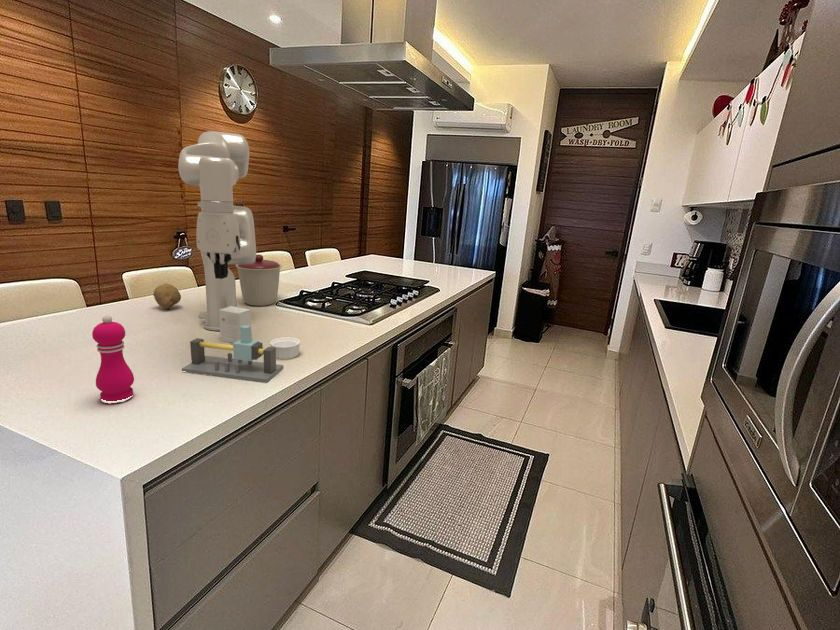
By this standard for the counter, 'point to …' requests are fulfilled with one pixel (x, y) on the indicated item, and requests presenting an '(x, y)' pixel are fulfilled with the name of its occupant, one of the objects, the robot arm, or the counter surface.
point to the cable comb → (233, 362)
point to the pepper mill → (112, 361)
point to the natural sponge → (166, 295)
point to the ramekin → (286, 347)
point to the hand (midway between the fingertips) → (221, 277)
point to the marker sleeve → (244, 344)
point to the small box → (233, 322)
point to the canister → (259, 281)
